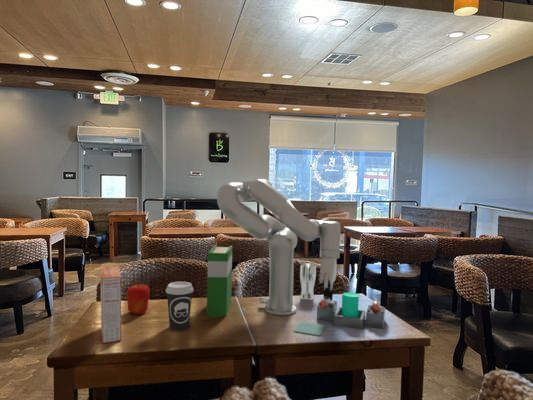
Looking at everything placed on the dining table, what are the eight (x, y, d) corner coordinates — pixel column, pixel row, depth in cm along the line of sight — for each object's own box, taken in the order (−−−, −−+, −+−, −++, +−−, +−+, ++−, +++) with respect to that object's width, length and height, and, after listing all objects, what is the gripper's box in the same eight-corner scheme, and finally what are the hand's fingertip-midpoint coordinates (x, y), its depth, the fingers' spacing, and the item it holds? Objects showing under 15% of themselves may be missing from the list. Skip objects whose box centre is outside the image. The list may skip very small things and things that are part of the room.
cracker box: (100, 327, 131) (100, 267, 130) (119, 325, 134) (119, 266, 133) (100, 344, 118) (101, 277, 117) (121, 341, 121) (122, 275, 120)
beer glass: (314, 301, 166) (315, 266, 166) (298, 299, 168) (299, 265, 167) (315, 296, 173) (316, 263, 172) (300, 295, 175) (301, 262, 174)
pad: (294, 331, 132) (294, 330, 132) (300, 322, 141) (300, 321, 141) (319, 336, 129) (320, 335, 129) (325, 326, 138) (325, 325, 138)
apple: (135, 307, 152) (135, 278, 151) (154, 310, 150) (154, 280, 149) (121, 315, 144) (121, 284, 143) (141, 317, 142) (141, 286, 141)
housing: (314, 322, 142) (315, 307, 141) (321, 311, 154) (322, 297, 153) (382, 332, 134) (383, 316, 133) (384, 320, 145) (385, 305, 145)
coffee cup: (198, 324, 137) (198, 282, 136) (184, 334, 128) (184, 289, 127) (174, 320, 140) (175, 279, 139) (159, 330, 131) (159, 286, 130)
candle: (348, 326, 138) (349, 293, 138) (338, 320, 144) (339, 289, 143) (361, 323, 141) (362, 291, 141) (350, 318, 147) (351, 287, 146)
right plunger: (370, 312, 139) (371, 303, 138) (372, 305, 146) (372, 297, 146) (379, 313, 138) (379, 304, 137) (380, 306, 145) (381, 298, 145)
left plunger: (319, 308, 141) (319, 300, 141) (323, 302, 148) (323, 294, 148) (327, 309, 140) (327, 301, 140) (330, 303, 147) (331, 295, 147)
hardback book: (213, 301, 163) (214, 245, 162) (231, 301, 163) (232, 245, 161) (206, 316, 145) (207, 253, 144) (226, 316, 145) (227, 253, 144)
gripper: (323, 249, 157) (322, 293, 158) (315, 255, 142) (314, 304, 143) (342, 250, 154) (340, 296, 155) (336, 257, 140) (334, 307, 141)
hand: (327, 300), depth 149 cm, fingers closed
